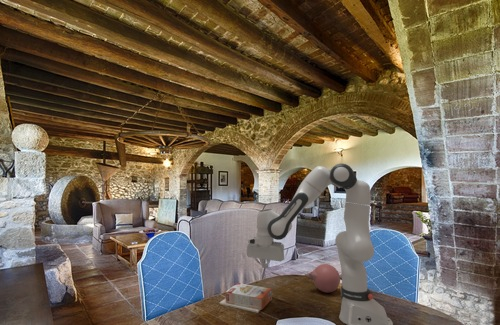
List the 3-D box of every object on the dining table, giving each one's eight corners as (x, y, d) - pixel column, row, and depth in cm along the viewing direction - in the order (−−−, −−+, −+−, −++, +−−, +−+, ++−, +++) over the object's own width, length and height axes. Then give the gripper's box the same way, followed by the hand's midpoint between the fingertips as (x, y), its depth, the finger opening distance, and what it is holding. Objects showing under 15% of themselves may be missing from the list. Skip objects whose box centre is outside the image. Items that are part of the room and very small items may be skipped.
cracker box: (262, 297, 136) (224, 291, 145) (262, 310, 136) (224, 303, 144) (271, 287, 149) (236, 282, 157) (272, 299, 148) (237, 293, 157)
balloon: (303, 286, 170) (303, 260, 171) (337, 287, 168) (336, 261, 169) (306, 296, 154) (305, 267, 156) (343, 297, 153) (342, 268, 154)
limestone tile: (272, 299, 151) (272, 297, 151) (257, 312, 135) (257, 311, 135) (236, 292, 161) (236, 290, 161) (219, 304, 145) (219, 302, 145)
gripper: (286, 241, 143) (286, 269, 142) (250, 237, 153) (250, 263, 152) (281, 243, 138) (281, 272, 137) (245, 239, 147) (245, 266, 146)
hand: (265, 267), depth 144 cm, fingers closed
